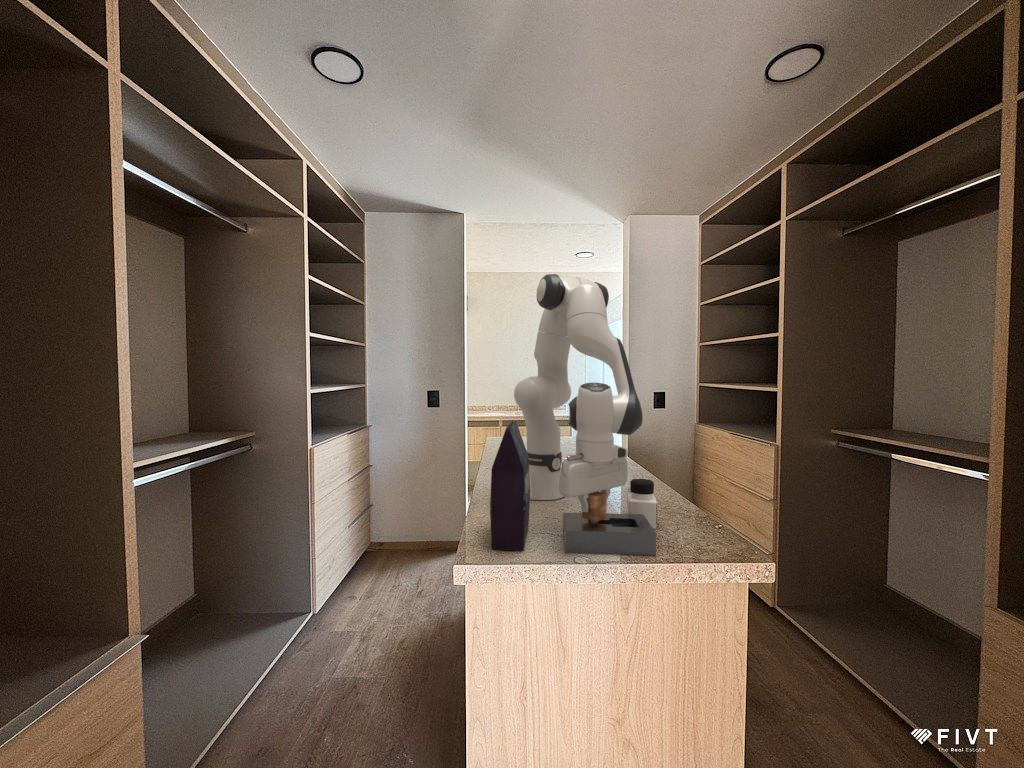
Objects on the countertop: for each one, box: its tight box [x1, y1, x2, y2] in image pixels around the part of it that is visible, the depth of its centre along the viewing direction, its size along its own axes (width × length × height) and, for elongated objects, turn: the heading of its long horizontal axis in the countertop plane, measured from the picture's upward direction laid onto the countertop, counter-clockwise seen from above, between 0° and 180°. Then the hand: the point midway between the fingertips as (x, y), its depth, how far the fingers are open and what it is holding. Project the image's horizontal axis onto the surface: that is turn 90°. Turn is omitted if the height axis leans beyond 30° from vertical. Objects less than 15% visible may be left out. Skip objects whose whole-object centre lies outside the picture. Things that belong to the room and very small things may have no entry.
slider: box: [581, 491, 607, 524], centre depth 107 cm, size 4×4×12 cm
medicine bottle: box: [626, 477, 658, 530], centre depth 120 cm, size 7×7×12 cm
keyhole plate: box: [562, 511, 657, 556], centre depth 107 cm, size 20×13×5 cm, turn 86°
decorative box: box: [489, 420, 531, 552], centre depth 110 cm, size 8×16×28 cm, turn 174°
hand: (594, 509), depth 107 cm, fingers closed on slider, 4 cm apart
